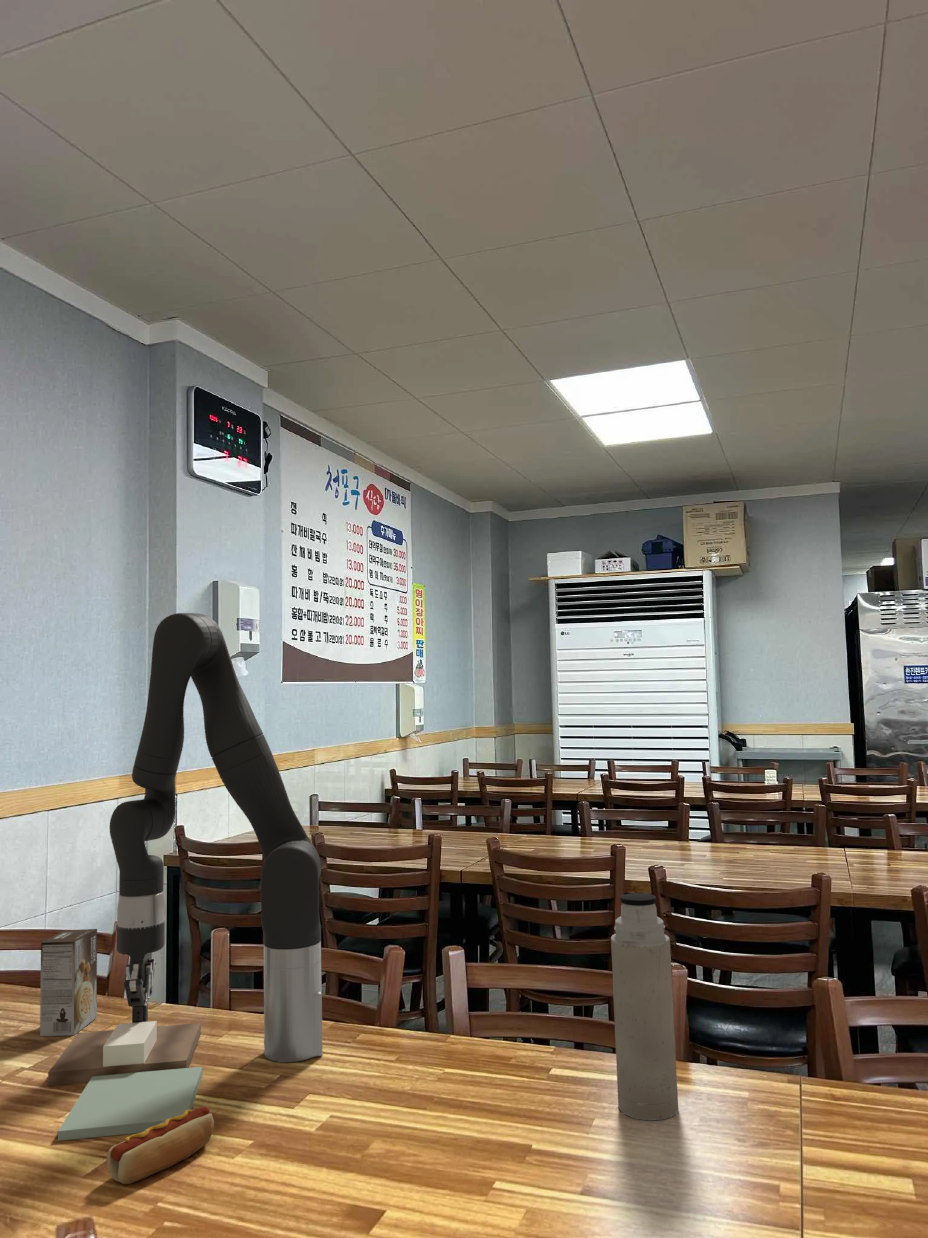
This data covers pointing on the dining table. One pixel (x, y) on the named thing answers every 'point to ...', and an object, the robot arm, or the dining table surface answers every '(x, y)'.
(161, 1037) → the plate
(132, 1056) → the white rectangular block
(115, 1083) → the mat
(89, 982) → the coffee box
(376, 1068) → the dining table surface
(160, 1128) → the food
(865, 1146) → the dining table surface
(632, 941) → the thermos bottle
